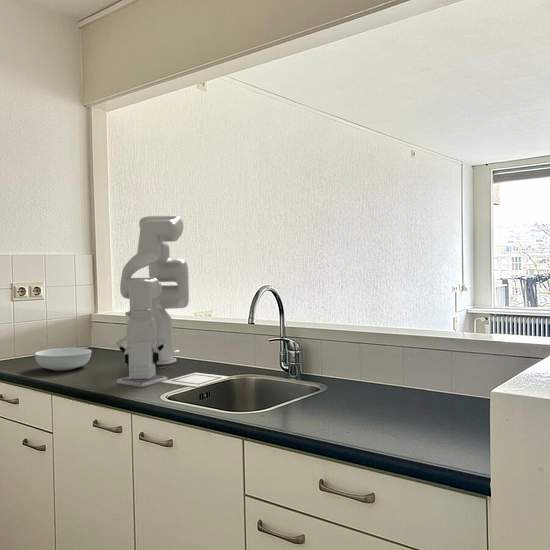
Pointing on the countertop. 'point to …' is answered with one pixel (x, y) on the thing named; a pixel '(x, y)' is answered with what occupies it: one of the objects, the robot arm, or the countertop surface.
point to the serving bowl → (63, 358)
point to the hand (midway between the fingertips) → (142, 364)
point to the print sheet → (196, 379)
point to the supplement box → (141, 361)
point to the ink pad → (142, 381)
